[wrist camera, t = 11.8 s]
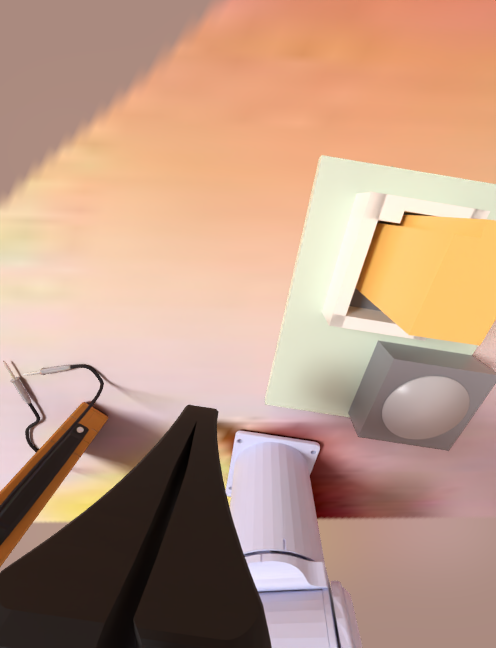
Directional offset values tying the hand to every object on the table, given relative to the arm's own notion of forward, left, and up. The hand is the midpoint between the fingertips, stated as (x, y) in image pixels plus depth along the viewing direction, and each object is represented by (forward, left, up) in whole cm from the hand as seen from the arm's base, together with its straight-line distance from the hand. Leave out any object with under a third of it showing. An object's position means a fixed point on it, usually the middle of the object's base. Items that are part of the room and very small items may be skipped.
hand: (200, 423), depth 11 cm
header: (+7, -10, -9) cm, 15 cm away
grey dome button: (-2, -15, -9) cm, 17 cm away
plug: (+7, -10, -8) cm, 15 cm away
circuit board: (+3, -11, -9) cm, 15 cm away
